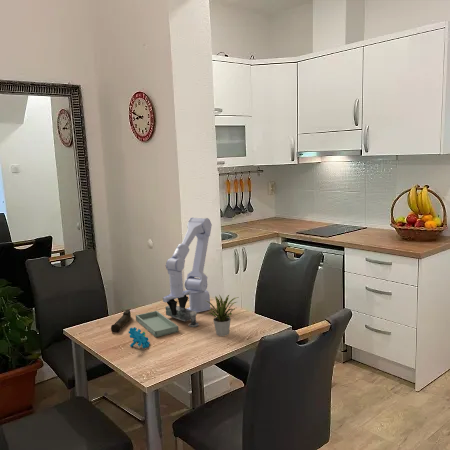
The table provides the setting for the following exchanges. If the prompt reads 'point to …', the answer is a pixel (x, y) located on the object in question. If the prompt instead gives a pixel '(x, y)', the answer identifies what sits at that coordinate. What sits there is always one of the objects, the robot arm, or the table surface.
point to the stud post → (193, 319)
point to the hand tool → (121, 322)
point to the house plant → (222, 316)
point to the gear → (138, 338)
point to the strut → (179, 313)
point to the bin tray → (156, 323)
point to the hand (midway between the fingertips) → (178, 313)
